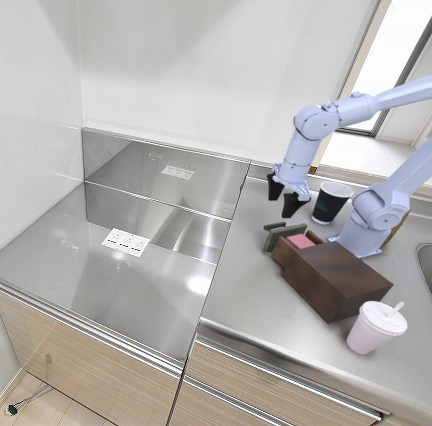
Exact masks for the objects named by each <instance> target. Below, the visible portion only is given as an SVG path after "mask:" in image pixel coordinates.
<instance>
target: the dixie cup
mask: <svg viewBox="0 0 432 426" xmlns="http://www.w3.org/2000/svg"><path fill="white" fill-rule="evenodd" d="M319 187H320V188H319V192H318V194H317V197H316V201H315V203H314V207H313V210H312V213H311V215H312V216H311V219H312V221H314V222H316V223H317V224H320V225H330V224H331V222H333V221H334V219H335V218H336V217H337V215H338V214H339V213H340V212H341V210H342V208H343V207H344V206H345V205H346V203H348V200H350V198H351V197H353V195H355V191H354V190H353V189H352V188H351V187H349V185H346V184H344V183H341V182H337V181H322V182H321V183H320V185H319Z"/></svg>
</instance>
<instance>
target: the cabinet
mask: <svg viewBox="0 0 432 426" xmlns="http://www.w3.org/2000/svg"><path fill="white" fill-rule="evenodd" d="M281 277H282V278H283V279H284V280H285V281H286V283H288V285H290V287H292V289H293V290H295V292H296V293H297V294H298V295H299V296H300V297H301V298H302V299H303V300H304V301H305V303H307V304H308V305H309V306H310V308H312V309H313V311H314V312H316V313H317V315H318V316H319V317H320V318H321V319H322V320H323V321H324V322H325V323H326V324H327V325H330V324H333V323H335V322H340V321H343V320H346V319H349V318H354V317H356V316H359V314H360V307H361V306H362V305H363V304H364V303H365V302H368V301H376V302H380V303H381V301H382V300H383V299H384V298H385V296H386V295H387V294H388V293H389V292H390V290H392V288H393V287H394V285H395V284H394V283H393V282H391V281H390V280H388V279H387V278H386V277H385V276H384V275H382V274H381V273H379V272H378V271H377V270H375V269H374V268H372V267H371V265H369V264H367V263H366V262H365V261H363V260H362V258H358V257H357V256H355V255H354V254H353V253H351V252H350V251H349V250H347V249H346V248H345V247H343V246H342V245H341V244H339V243H338V242H337V241H331V242H329V241H326V243H322V244H318V245H314V246H310V247H305V248H301V249H297V250H293V252H292V255H291V257H290V259H289V261H288V263H287V265H286V267H285V268H284V269H283V271H282V273H281Z"/></svg>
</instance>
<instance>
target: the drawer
mask: <svg viewBox="0 0 432 426" xmlns="http://www.w3.org/2000/svg"><path fill="white" fill-rule="evenodd" d="M308 227H309V225H308V224H307V223H306V222H303V223H299V224H293V225H290V226H289V225H287V222H286V221H283V220H282V221H279V222H278V221H277V222H273V223H269V224H265V225H263V227H262V228H263V230H264V231H267V232H268V234H267V237H266V240H265V241H264V245H263V247H262V252H264V254H267V253H271V252H272V253H271V256H272V258H274V259H275V261H276V262H277V263H278V264H279V265H280V266H282V267H283V268H284V269H285V267H286V265H287V263H288V261H289V259H290V257H291V255H292V252H293V250H297V249H296V248H294V247H293V246H292V245H291V244H290V243H289V242H288V241H287V240H286V238H287V237H290V236H294V235H299V234H303V235H304V236H305V237H307V238H308V239H309V240H310V241H312V242H313V243H314V244H315V245H318V244H322V243H327V241H324V240H323V239H322V238H321V237H320V236H318V235H317V234H315V233H314V232H313V231H312V230H310V229H308Z"/></svg>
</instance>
